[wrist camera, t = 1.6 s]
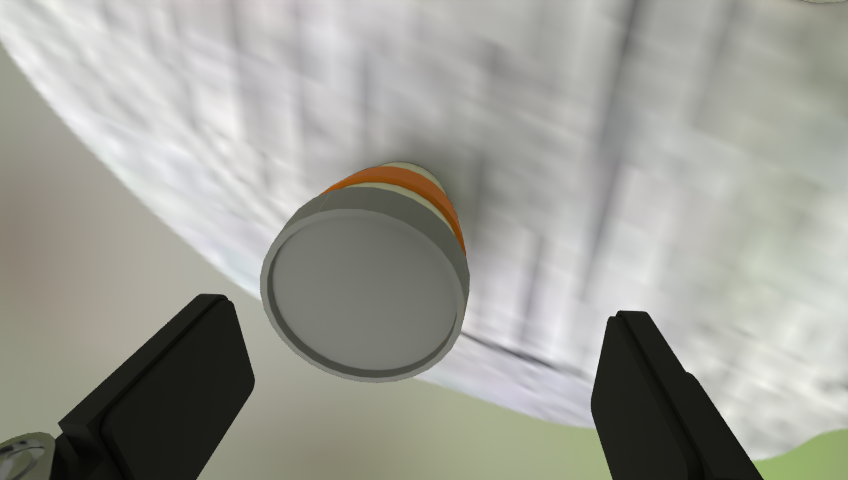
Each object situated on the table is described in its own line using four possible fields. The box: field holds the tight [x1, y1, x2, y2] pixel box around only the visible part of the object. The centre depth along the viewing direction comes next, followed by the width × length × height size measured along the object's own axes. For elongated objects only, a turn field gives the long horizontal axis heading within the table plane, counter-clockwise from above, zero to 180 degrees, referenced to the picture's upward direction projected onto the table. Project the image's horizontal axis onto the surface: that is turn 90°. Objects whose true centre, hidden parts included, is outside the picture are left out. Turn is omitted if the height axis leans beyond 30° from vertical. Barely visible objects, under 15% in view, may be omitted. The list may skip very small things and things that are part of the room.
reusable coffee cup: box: [260, 162, 470, 383], centre depth 30 cm, size 13×12×15 cm
